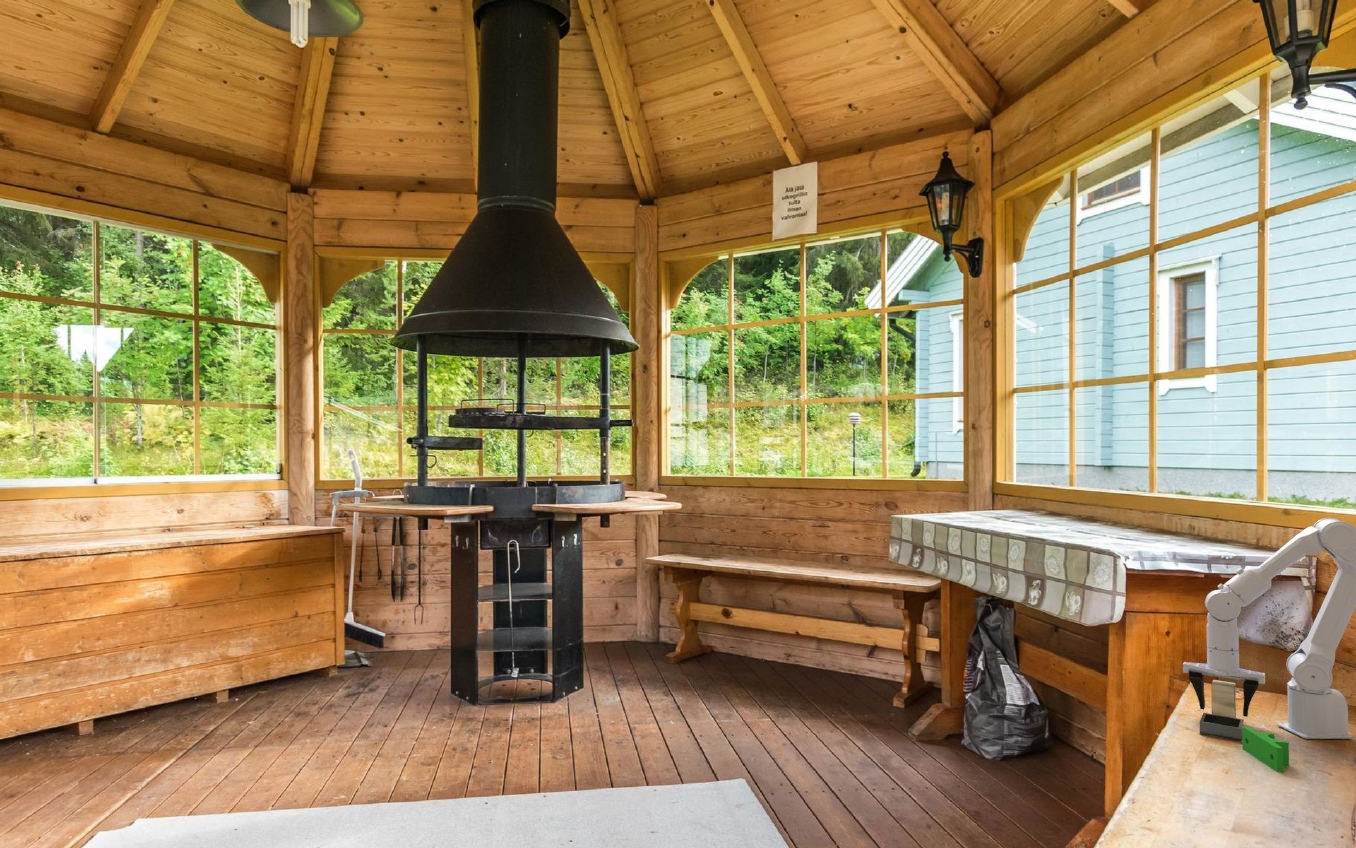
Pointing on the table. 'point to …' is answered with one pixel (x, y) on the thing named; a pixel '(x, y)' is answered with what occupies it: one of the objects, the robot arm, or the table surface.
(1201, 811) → the table surface
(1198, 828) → the table surface
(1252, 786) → the table surface
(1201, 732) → the dark gray open tray
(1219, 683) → the rail post
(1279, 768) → the pipe clamp
